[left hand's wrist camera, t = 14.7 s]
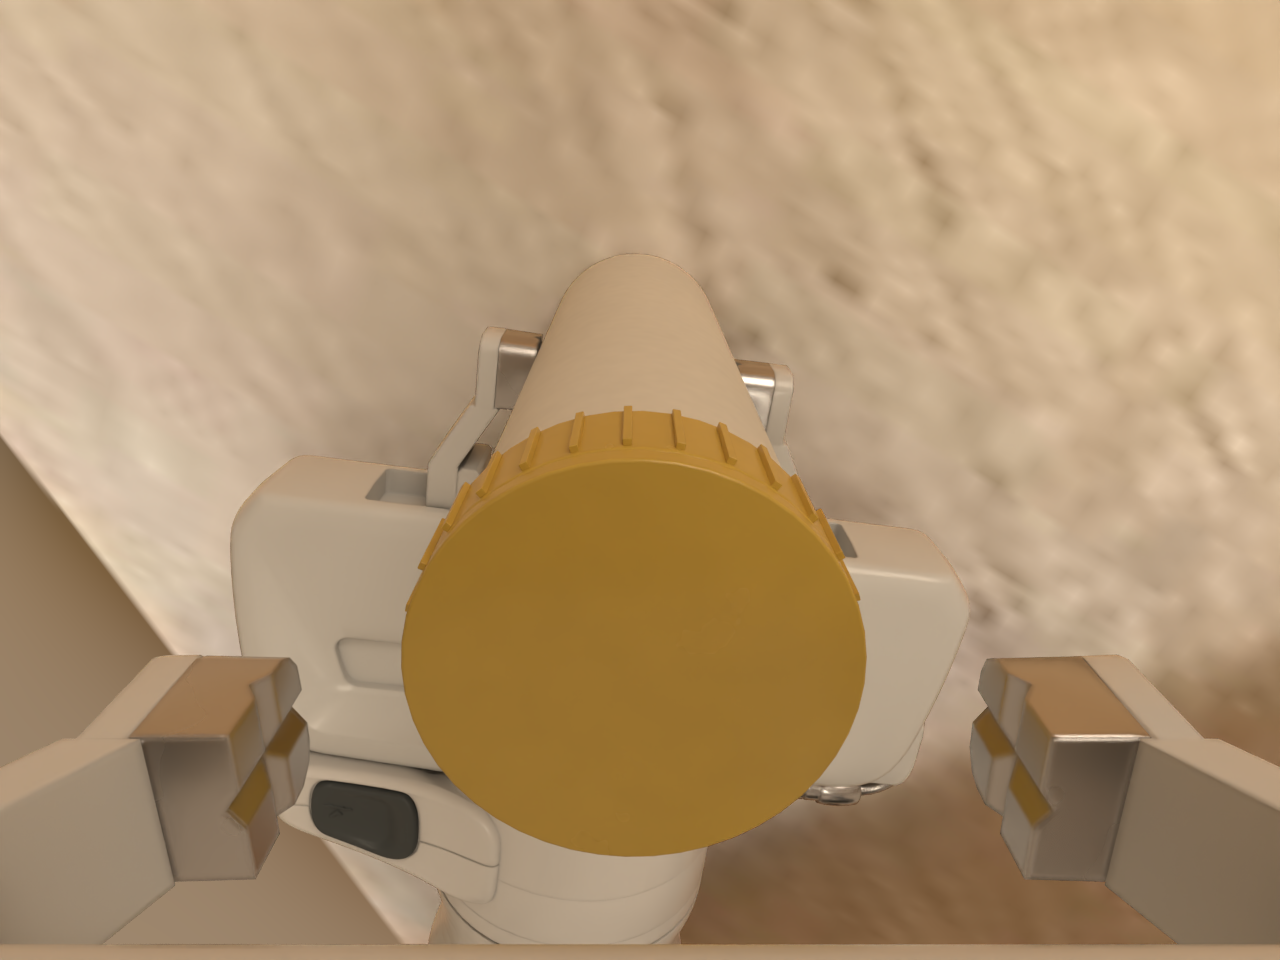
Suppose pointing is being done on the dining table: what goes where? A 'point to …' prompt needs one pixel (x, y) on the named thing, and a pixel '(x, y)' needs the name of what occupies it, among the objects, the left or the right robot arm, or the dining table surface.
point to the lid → (633, 637)
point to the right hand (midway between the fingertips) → (637, 349)
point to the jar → (634, 354)
